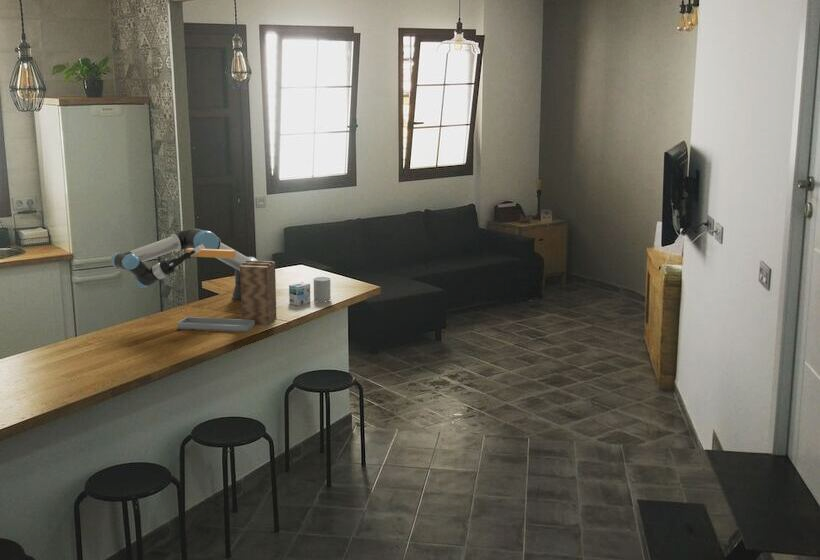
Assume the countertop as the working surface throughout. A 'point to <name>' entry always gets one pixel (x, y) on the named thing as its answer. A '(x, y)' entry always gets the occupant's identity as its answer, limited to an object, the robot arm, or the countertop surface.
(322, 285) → the grey cylinder
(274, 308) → the brown zigzag tall box
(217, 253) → the pin
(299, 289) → the light bulb box
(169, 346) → the countertop surface
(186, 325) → the tray
